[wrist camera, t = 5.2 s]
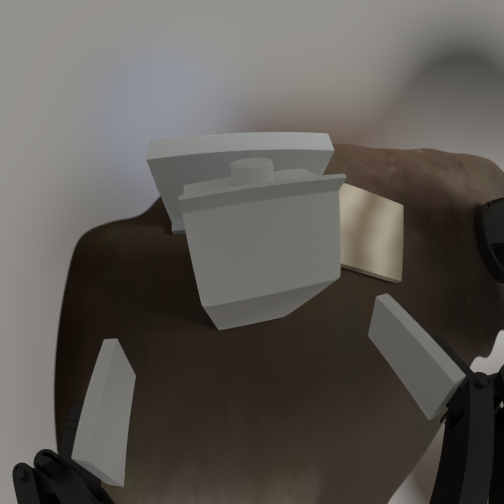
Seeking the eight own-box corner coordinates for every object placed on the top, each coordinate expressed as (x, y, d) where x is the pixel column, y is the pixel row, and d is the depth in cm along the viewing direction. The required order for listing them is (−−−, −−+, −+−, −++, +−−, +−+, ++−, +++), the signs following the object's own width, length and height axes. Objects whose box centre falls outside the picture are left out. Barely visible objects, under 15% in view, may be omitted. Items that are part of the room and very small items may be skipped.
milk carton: (286, 316, 28) (376, 250, 10) (218, 330, 27) (189, 288, 9) (270, 253, 30) (318, 120, 12) (206, 264, 29) (172, 135, 11)
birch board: (399, 208, 34) (403, 205, 33) (396, 283, 30) (401, 281, 29) (328, 182, 34) (330, 178, 33) (315, 259, 30) (317, 256, 29)
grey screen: (297, 195, 33) (324, 125, 22) (303, 224, 31) (337, 159, 20) (173, 204, 31) (150, 133, 20) (173, 234, 30) (145, 169, 19)
